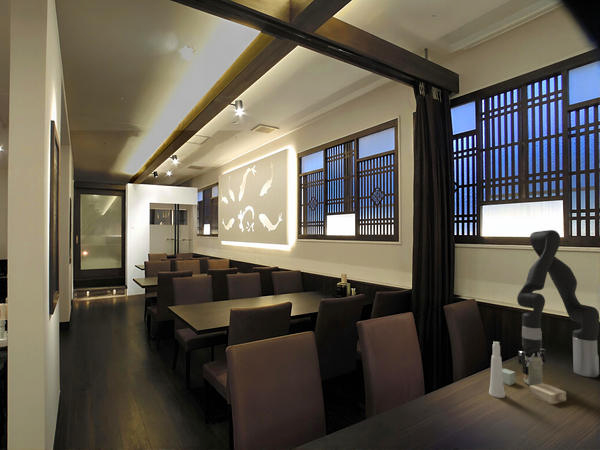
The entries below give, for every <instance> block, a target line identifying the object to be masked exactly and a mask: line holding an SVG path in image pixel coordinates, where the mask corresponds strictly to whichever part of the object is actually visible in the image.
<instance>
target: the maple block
mask: <svg viewBox="0 0 600 450" xmlns="http://www.w3.org/2000/svg"><path fill="white" fill-rule="evenodd" d="M528 390H529V391H528V392H529V393H528V394H529V395H530V396H531V397H533V398H535V399H538V400H540V401H542V402H544V403H546V404H549V405H554V404H559V403H562V402H563V403H564V402H567V391H565V390H564V389H560V388H558V387H555V386H553V385H550V384H548V383H545V382H543V383H541V384H536V385H529V387H528Z"/></svg>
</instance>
